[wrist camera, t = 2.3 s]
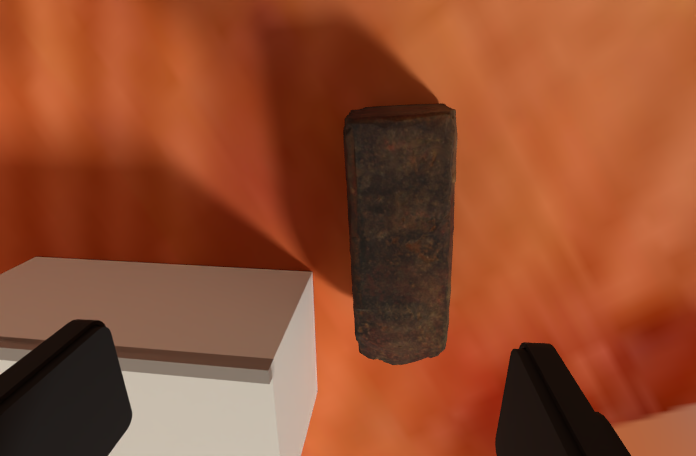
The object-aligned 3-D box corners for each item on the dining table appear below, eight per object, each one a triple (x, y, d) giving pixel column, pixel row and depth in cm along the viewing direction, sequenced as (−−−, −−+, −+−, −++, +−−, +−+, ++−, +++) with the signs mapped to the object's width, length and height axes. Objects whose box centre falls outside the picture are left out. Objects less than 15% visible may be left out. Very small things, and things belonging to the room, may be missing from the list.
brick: (353, 106, 17) (337, 116, 13) (445, 101, 16) (462, 111, 12) (362, 311, 21) (353, 373, 17) (438, 313, 20) (448, 378, 16)
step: (312, 271, 20) (268, 370, 13) (317, 391, 23) (283, 522, 16) (35, 256, 22) (-126, 336, 15) (73, 369, 25) (-49, 477, 18)
